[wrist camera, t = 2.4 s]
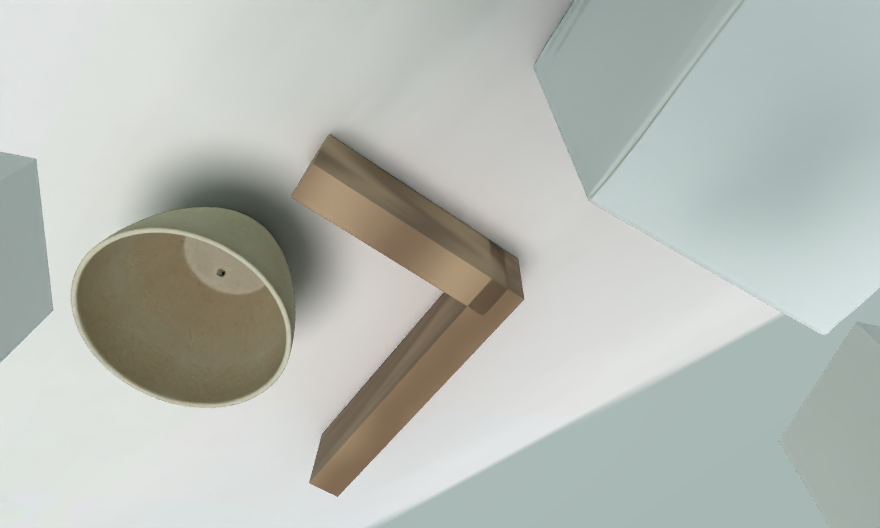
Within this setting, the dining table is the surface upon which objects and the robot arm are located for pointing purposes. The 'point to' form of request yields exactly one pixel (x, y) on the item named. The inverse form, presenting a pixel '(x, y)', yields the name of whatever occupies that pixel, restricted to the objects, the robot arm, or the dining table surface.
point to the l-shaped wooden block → (439, 331)
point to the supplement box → (733, 137)
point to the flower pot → (188, 306)
